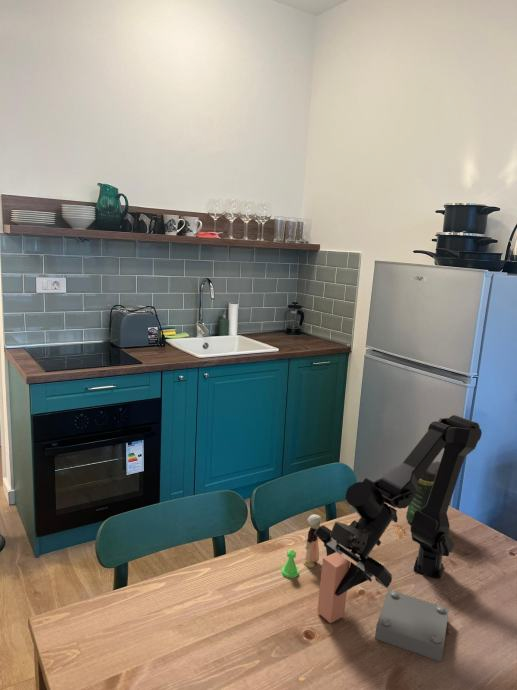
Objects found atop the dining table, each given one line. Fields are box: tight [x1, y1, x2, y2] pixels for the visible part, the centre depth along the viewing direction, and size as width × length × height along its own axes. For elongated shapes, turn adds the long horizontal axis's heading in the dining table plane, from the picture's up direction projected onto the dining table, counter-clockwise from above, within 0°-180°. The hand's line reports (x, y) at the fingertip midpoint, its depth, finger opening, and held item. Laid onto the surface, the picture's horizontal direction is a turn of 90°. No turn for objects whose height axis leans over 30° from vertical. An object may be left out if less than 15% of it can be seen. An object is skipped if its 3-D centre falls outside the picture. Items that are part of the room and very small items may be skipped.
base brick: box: [374, 588, 450, 662], centre depth 112 cm, size 13×13×4 cm
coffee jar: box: [405, 460, 440, 524], centre depth 155 cm, size 10×8×19 cm
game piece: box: [280, 549, 300, 579], centre depth 128 cm, size 4×4×6 cm
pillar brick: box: [317, 552, 351, 624], centre depth 114 cm, size 4×4×13 cm
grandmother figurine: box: [303, 514, 322, 569], centre depth 133 cm, size 8×4×13 cm, turn 168°
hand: (328, 589), depth 113 cm, fingers closed on pillar brick, 4 cm apart
